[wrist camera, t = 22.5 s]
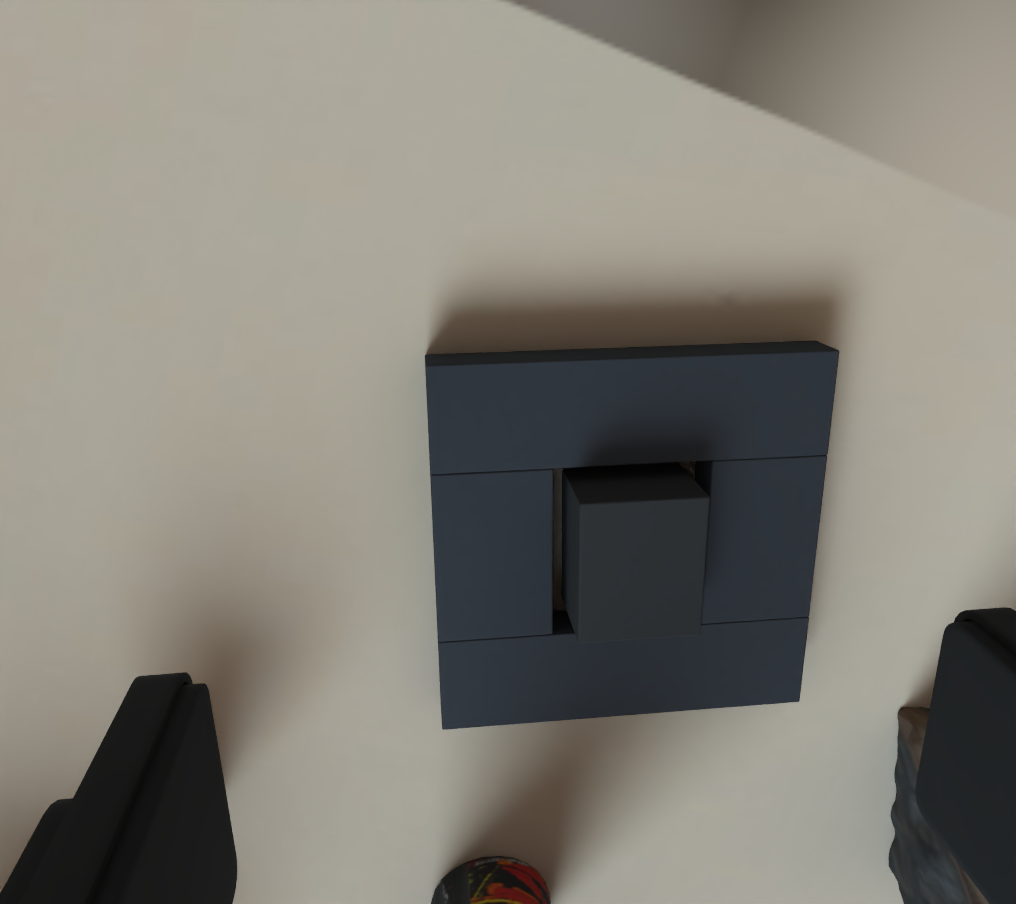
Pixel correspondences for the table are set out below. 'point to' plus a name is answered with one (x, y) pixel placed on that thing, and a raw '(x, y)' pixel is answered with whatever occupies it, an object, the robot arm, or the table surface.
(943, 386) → the table surface
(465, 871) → the deodorant
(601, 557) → the small dark rectangular block
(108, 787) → the robot arm
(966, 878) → the rock
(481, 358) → the socket pad
